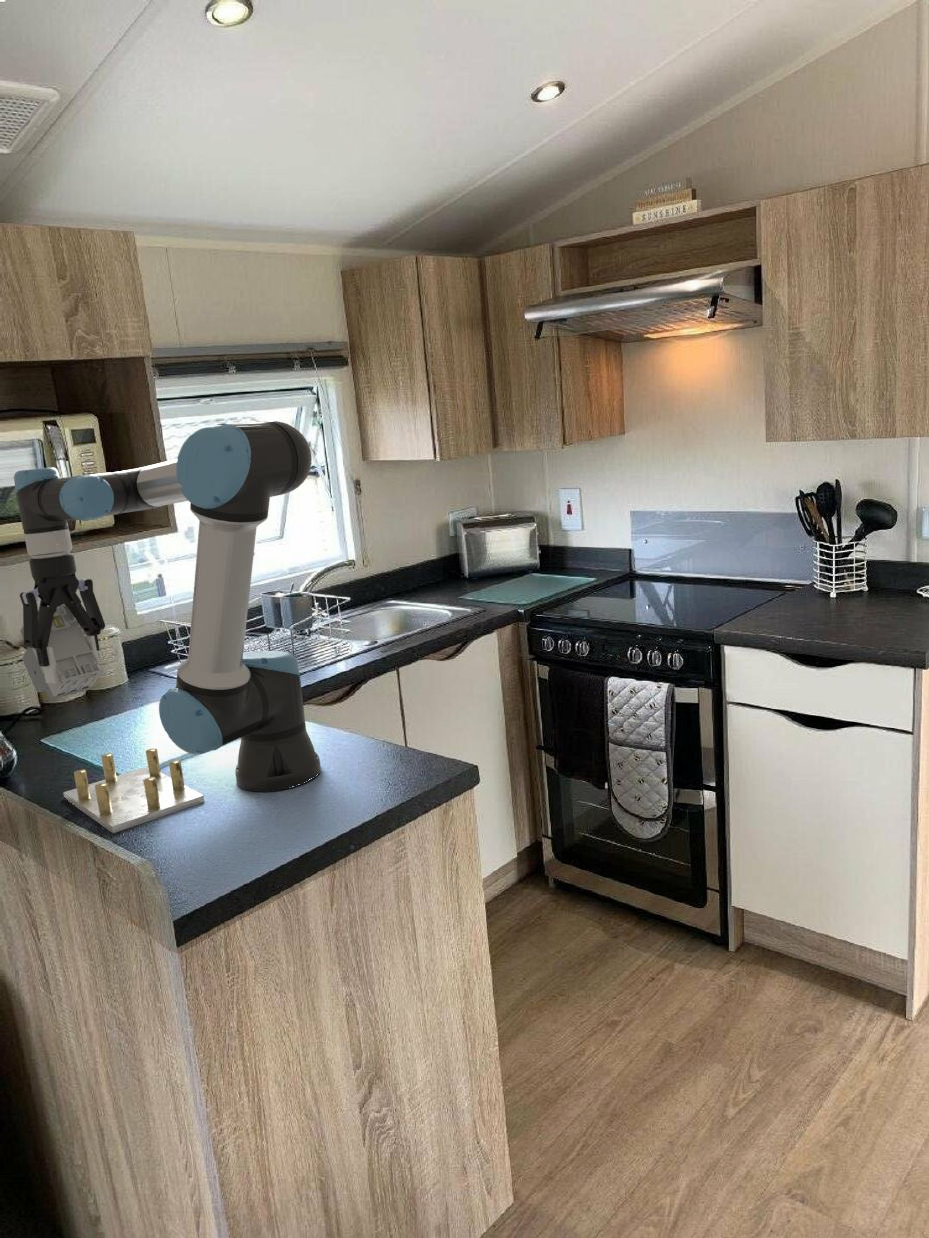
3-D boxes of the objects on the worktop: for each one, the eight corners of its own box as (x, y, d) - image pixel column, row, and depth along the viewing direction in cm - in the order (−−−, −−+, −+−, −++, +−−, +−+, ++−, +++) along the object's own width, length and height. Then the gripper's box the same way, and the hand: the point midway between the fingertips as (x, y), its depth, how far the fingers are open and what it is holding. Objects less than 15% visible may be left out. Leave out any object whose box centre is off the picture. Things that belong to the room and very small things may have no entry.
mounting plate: (204, 801, 166) (199, 767, 165) (113, 833, 156) (106, 797, 155) (149, 771, 183) (144, 740, 182) (64, 798, 173) (58, 765, 172)
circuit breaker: (80, 703, 188) (50, 637, 191) (102, 670, 178) (70, 601, 182) (42, 714, 183) (12, 646, 186) (63, 680, 173) (31, 609, 176)
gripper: (86, 545, 185) (107, 660, 189) (-16, 565, 167) (9, 690, 172) (112, 545, 181) (132, 661, 185) (10, 564, 163) (35, 693, 168)
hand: (73, 675), depth 179 cm, fingers closed on circuit breaker, 8 cm apart
